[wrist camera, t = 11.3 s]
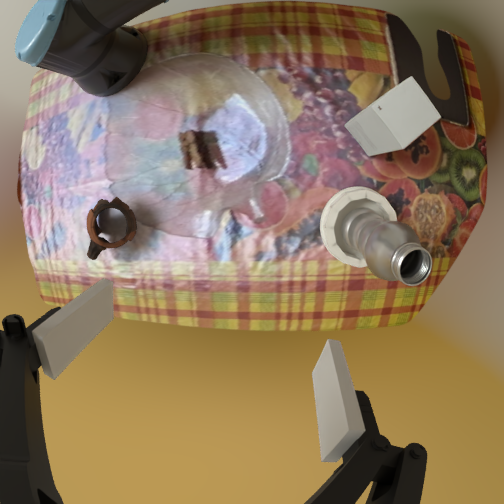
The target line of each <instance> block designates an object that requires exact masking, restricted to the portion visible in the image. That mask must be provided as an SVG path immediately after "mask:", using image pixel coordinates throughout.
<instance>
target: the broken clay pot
mask: <svg viewBox="0 0 504 504" xmlns="http://www.w3.org/2000/svg"><path fill="white" fill-rule="evenodd" d="M107 208H115V209H118V210H120V211H121V212H122V213H123V214H124V216H125V218H126V221H127V230H126V236H125V237H124V238H122V239H120V240H119V241H117V242H114V243H109V241H107V240H105V239H104V238H101V237H99V236H98V235H99V234H100V233H101V232H102V231H101V230H100V228H99V227H98V224H97V220H96V218H97V216H98V214H99V213H100V212H101V211H103V210H104V209H107ZM136 229H137V226H136V219H135V216H134V213H133V211H132V210H131V209H129V206H128V205H127V204H125V203H124V202H122V201H121V200H120V199H119V198H118V197H116V198H114V199H113V200H112V201H111V202H110V203H109V202H108V201H107V200H103V199H101V200H99V201H98V203H97V205H96V206H95V207H94V209H93V210H92V209H91V210H90V211H89V213H88V216H87V230H88V233H89V235H90V238H91V242H90V246H89V250H88V253H87V256H88V257H89V258H90V259H92V260H95V259H97V257H98V255H99V254H100V252H101V251H102V250H106V248H115V247H119V246H121V245H123V244H125V243H126V242H127V241H128V240H129V241H131V240H132V239H133V237H134V236H135V234H136Z"/></svg>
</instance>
